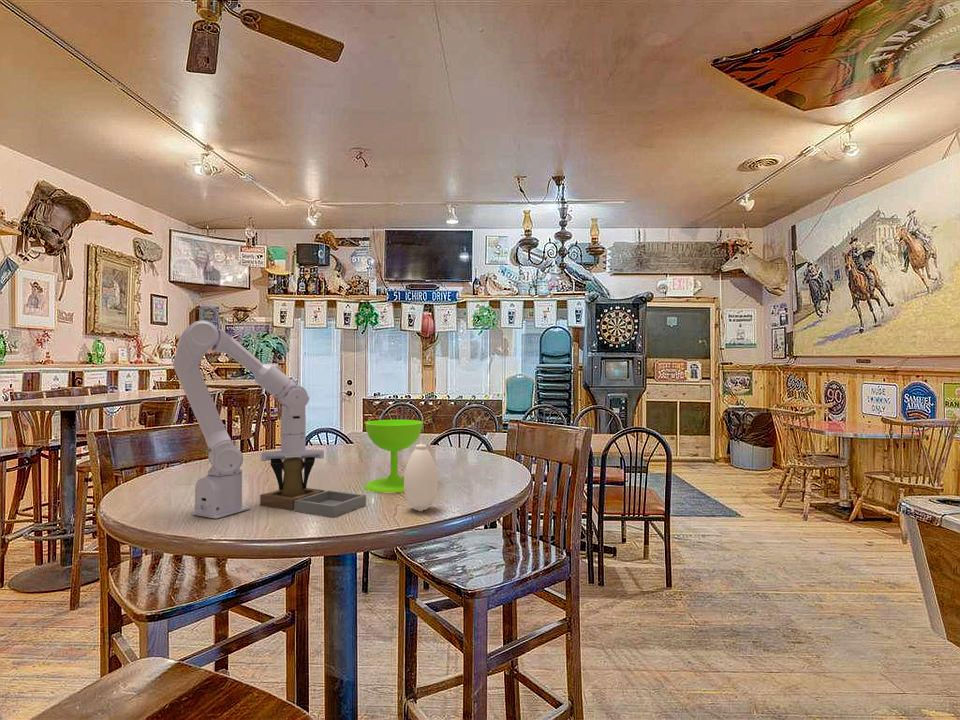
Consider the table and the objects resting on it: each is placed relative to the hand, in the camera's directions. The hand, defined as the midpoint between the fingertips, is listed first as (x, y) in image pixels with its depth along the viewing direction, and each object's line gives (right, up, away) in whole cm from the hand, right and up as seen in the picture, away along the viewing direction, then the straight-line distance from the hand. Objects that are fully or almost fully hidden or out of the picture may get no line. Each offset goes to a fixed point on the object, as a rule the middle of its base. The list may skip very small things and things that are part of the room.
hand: (292, 488), depth 132 cm
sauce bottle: (+32, -4, -7) cm, 33 cm away
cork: (0, -4, 0) cm, 4 cm away
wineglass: (+22, -4, +18) cm, 29 cm away
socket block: (0, -3, 0) cm, 3 cm away
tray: (+11, -3, -5) cm, 12 cm away
